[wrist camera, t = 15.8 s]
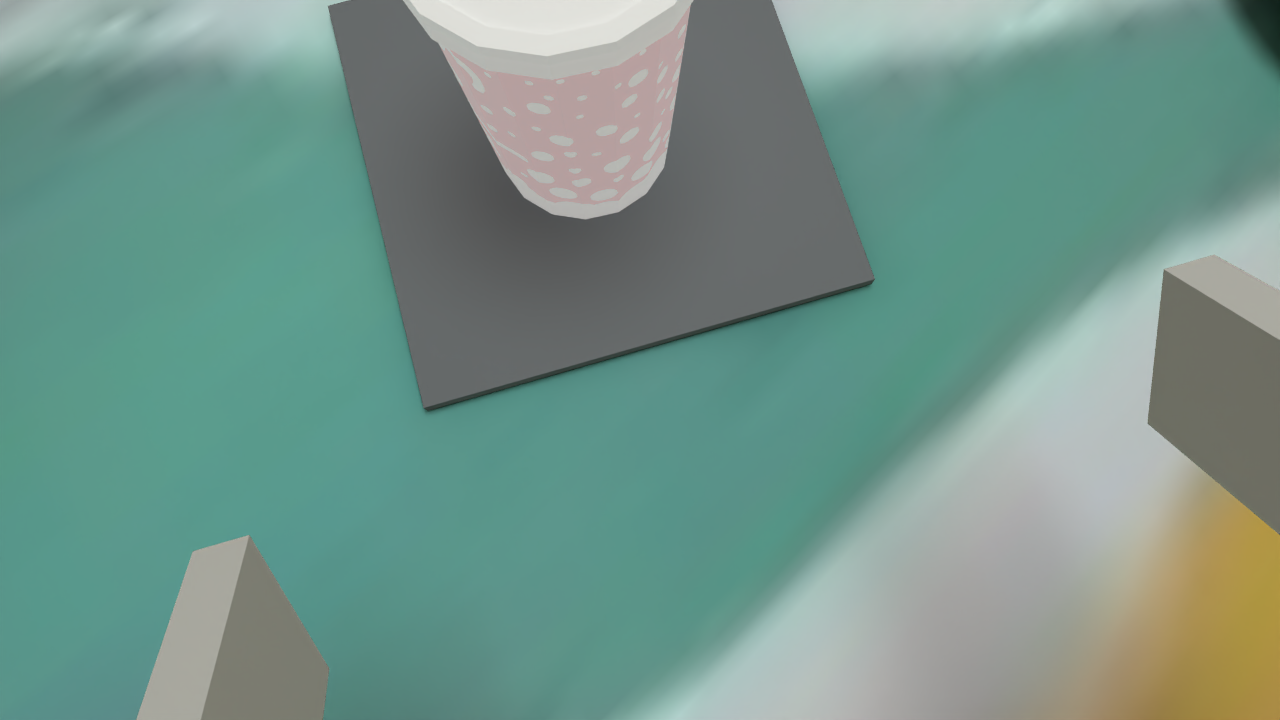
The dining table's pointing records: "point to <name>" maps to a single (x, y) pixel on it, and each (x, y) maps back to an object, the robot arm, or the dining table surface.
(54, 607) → the dining table surface
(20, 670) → the dining table surface
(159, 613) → the dining table surface
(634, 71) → the beverage cup
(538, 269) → the mat
